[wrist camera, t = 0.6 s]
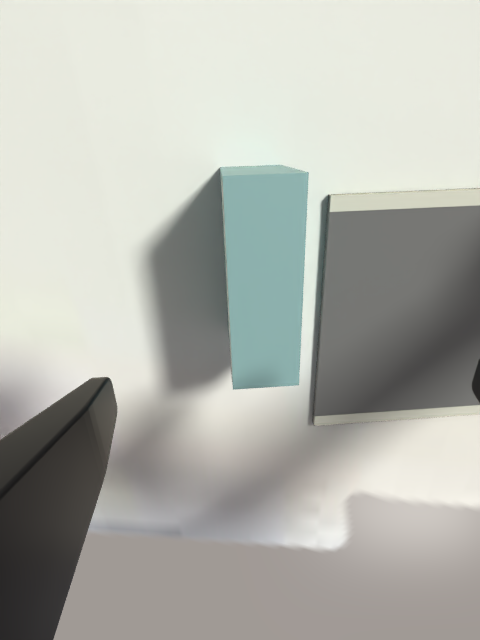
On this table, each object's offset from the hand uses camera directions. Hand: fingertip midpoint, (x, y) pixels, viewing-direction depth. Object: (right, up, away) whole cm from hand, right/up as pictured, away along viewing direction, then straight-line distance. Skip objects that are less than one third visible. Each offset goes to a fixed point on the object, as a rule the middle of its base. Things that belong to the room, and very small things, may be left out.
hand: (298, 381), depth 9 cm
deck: (-1, +5, +11) cm, 12 cm away
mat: (+10, +2, +13) cm, 17 cm away
